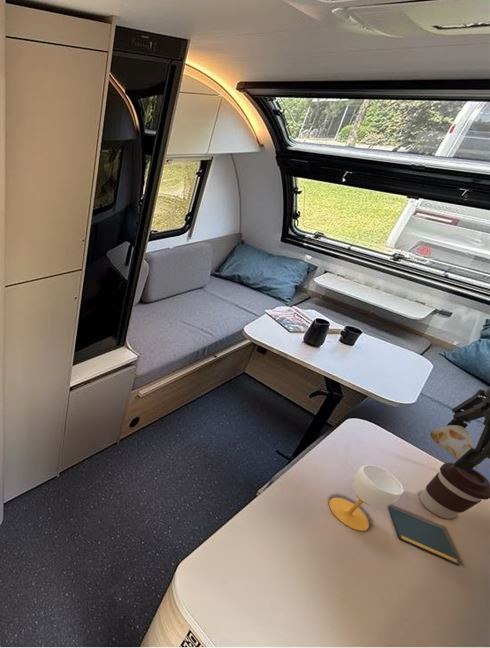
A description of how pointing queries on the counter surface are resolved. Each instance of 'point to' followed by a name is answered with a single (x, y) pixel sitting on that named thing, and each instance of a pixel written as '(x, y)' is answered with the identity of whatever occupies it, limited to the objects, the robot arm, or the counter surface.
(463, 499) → the coffee cup
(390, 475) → the cup
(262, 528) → the counter surface
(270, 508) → the counter surface
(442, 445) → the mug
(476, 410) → the robot arm
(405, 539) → the book
